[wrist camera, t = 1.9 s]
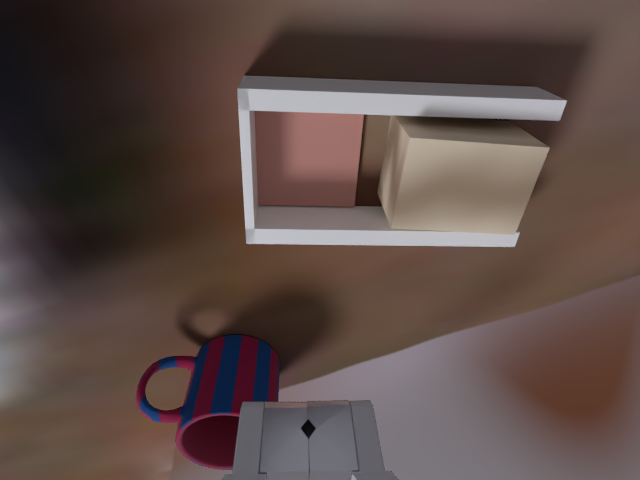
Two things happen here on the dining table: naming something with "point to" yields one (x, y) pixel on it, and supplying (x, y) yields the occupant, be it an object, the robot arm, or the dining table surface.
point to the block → (458, 174)
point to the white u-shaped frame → (349, 153)
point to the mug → (216, 395)
